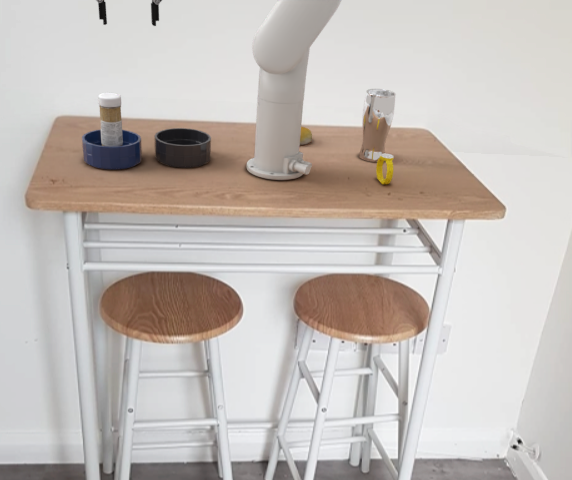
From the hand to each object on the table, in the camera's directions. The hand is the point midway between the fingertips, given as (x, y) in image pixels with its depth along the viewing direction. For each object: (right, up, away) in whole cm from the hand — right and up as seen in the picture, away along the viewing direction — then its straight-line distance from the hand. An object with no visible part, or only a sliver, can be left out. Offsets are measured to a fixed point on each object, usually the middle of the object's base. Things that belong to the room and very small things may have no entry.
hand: (129, 24), depth 142 cm
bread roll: (+33, -16, +30) cm, 48 cm away
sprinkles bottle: (-5, -25, +9) cm, 27 cm away
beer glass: (+52, -22, +23) cm, 61 cm away
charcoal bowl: (+9, -24, +13) cm, 29 cm away
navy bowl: (-5, -26, +9) cm, 28 cm away
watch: (+52, -30, +10) cm, 61 cm away
